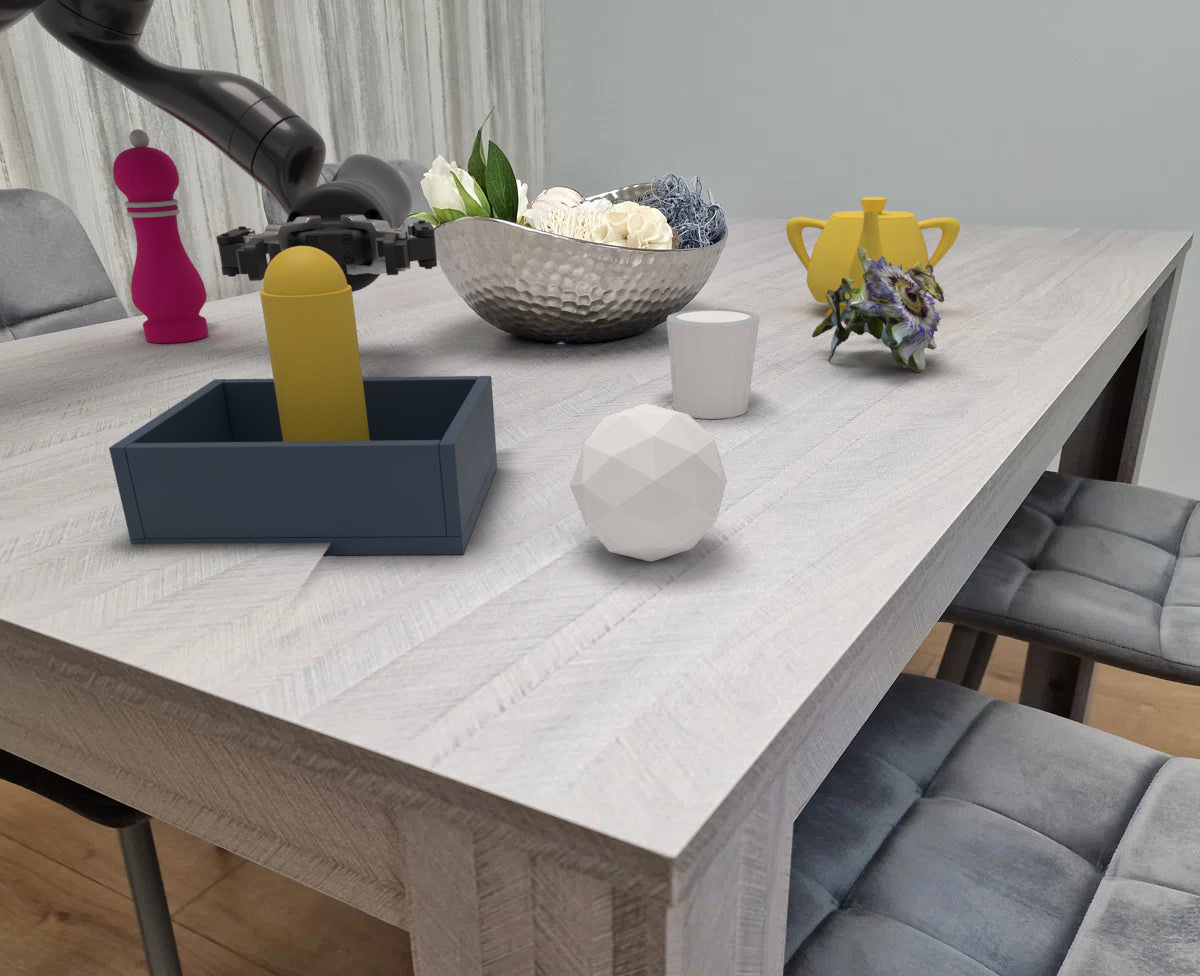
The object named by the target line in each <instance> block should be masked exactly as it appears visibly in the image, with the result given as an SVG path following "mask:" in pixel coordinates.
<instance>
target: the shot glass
mask: <svg viewBox="0 0 1200 976" xmlns="http://www.w3.org/2000/svg"><path fill="white" fill-rule="evenodd" d="M759 324H760V315H758V314H757V313H754V312H750V311H745V310H738V309H728V308H702V309H701V308H700V309H690V310H683V311H677V312H673V313H671V314H668V315H667V317H666V325H667V326H666V329H667V340H668V341H667V342H668V352H669V353H668V354H669V365H670V376H671V377H670V378H671V390H672V400H673V401H672V402H673V410H674V411H678V412H682V413H685V414H688V415H689V416H691V417H692V418H693V419H694V418H696V419H701V420H702V419H703V420H706V419H707V420H720V419H731V418H734V417H739V416H742V415H744V414H745V413H748V409H749V400H750V392H751V385H752V378H753V370H754V363H755V356H756V355H755V354H756V348H757V342H758V341H757V339H758V331H759Z"/></svg>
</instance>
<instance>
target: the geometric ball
mask: <svg viewBox="0 0 1200 976" xmlns="http://www.w3.org/2000/svg"><path fill="white" fill-rule="evenodd" d="M727 483H728V479H727V475H726V472H725V469H724V465H723V461H722V459H721V455H720V452H719V449H718V445H717V442H716V439H715V438H714V437H713V436H712V435H711V434H710V433H708V432H707V431H706V429H704V428H703V427H702V426H701V424H699V423H698V422H697V421H696V420H695V419H694V418H693V417H691V416H689V415H688V414H685V413H682V412H678V411H674V409H669V408H665V407H662V406H658V405H653V404H649V403H644V404H640V405H637V406H634V407H631V408H628V409H625V410H622V411H619V412H616V413H612V414H609V415H606V416H604V417H603V418H602V420H601V421H600V423H599V424H598V425H597V427H596V428H595V429H594V430H593V431H592V433H591V434H590V435H589V437H588V438H587V439H586V441H585V442H584V443H583V445H582V449H581V452H580V454H579V457H578V461H577V464H576V466H575V470H574V472H573V475H572V479H571V481H570V485H569V487H570V490H571V493H572V495H573V497H574V499H575V501H576V504H577V507H578V510H579V511H580V515H581V516H582V519H583V521H584V524H585V525H586V527H587V528H588V529H589V530H590V531H591V533H593V535H594V536H595V537H596V538H597V539H598V540H599V542H600V543H601V544H602V545H603V546H604V547H605V549H607V550H608V552H610V553H614V554H617V555H621V556H624V557H625V556H626V557H630V558H634V559H638V560H641V561H645V562H650V563H652V562H656V561H658V560H662V559H664V558H668V557H672V556H674V555H677V554H681V553H683V552H686V551H689V550H692V549H693V548H695V546H696V545H697V544H698V543H699V541H700V540H701V539H702V538H703V537H704V536H705V535H706V534H707V532H709V530H710V529H711V528H712V527H713V526H714V524H716V522H717V521H718V517H719V513H720V509H721V506H722V502H723V499H724V494H725V490H726V487H727Z"/></svg>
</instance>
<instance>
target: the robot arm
mask: <svg viewBox="0 0 1200 976" xmlns="http://www.w3.org/2000/svg"><path fill="white" fill-rule="evenodd" d="M154 1H155V0H0V35H1V34H3V33H5V32H6V31H8V30H9V29H11V28H12V27H14V26H15V25H17V24H18V23H20V22H21V21H22V20H24V19H25V18H27V17H28V16H29V15H30V14H31V13H32V15H33V16H34V18H35V20H36V21H37V23H38V24H39V25H40V27H41V28H43V29H44V30H45V31H46V33H48V34H49V35H50V36H51V37H52V38H53V39H54V40H56V41H57V42H58V43H60V44H61V45H62V46H63V47H65V48H66V49H68V50H69V51H70V52H72V54H75V56H78V57H79V58H81V60H83V61H84V62H87V63H88V64H89V65H91V66H93V67H94V68H96V69H97V70H98V71H100V72H102V73H103V74H105V75H106V76H108V77H109V78H111V79H113V80H114V81H116V82H117V83H118V84H120V85H122V86H123V87H125V88H126V89H128V90H129V91H130V92H132V93H134V94H136V95H137V96H139V97H140V98H142V100H145V101H147V102H148V103H150V104H152V105H153V106H155V108H157V109H160V110H161V111H163V112H164V113H166V114H168V115H169V116H171V117H172V118H174V119H176V120H177V121H179V122H181V123H182V124H183V125H185V126H186V127H188V128H189V129H191V130H192V131H194V132H195V133H197V134H198V135H199V136H201V138H203V139H205V140H206V141H207V142H209V143H210V144H211V145H212V146H214V147H215V148H216V149H217V150H218V151H220V152H221V153H222V154H224V155H225V156H226V157H227V158H228V159H229V160H230V161H232V162H233V163H234V164H235V165H236V166H237V167H239V168H240V169H241V170H242V171H243V172H244V173H246V174H247V175H248V176H249V177H250V178H252V179H253V180H254V181H255V182H256V183H258V184H259V185H260V186H261V187H262V188H263V189H264V190H265V191H266V192H267V193H268V194H270V196H271V197H272V198H273V199H274V201H275V202H276V203H277V204H278V205H279V207H280V209H282V210H283V212H284V213H285V215H286V216H287V217H286V222H279V223H270V224H267V225H266V226H265V229H264V232H262V233H256V231H255V229H252V228H251V227H247V226H243V225H242V226H238V228H233V229H231V230H228V231H225V232H223V233H221V234H219V235H217V236H215V237H216V238H215V239H216V244H217V246H218V251H219V258H220V263H221V273H222V276H228V277H229V278H230V277H232V278H233V277H236V276H237V275H247V277H248V280H249V282H260V281H263V280H264V275H265V272H266V269H267V267H268V265H269V264H270V262H271V261H272V259H273V258H274V257H275V256H276V255H278V254H279V253H280V252H282V251H284V250H286V249H288V248H291V247H295V246H310V247H314V248H317V249H319V250H322V251H324V252H325V253H327V254H328V255H330V256H331V257H332V258H333V259H334V260H335V261H336V262H337V263H338V264H339V266H340V267H341V269H342V271H343V273H344V275H345V278H346V281H347V284H348V285H350V286H351V287H352V293H353V292H358V291H361V290H363V289H365V288H367V287H368V286H370V285H371V284H373V283H374V282H375V281H376V280H378V278H379V277H380V276H381V275H382V274H386V276H398V275H399V272H406V270H410V269H411V263H412V262H416V261H417V263H418V266H419V268H424V269H425V270H433V268H436V267H438V259H437V258H438V257H437V246H436V235H435V228H434V226H433V225H432V223H431V222H430V221H426V220H423V219H422V220H421V219H420V220H418V221H417V222H413V223H412V224H411V223H410V224H407V230H406V229H402V228H401V226H402V225H403V223H404V222H405V220H407V218H408V216H409V215H410V213H411V211H412V209H413V198H412V197H413V196H412V193H411V190H410V188H409V186H408V184H407V182H406V181H405V179H404V178H403V177H402V175H401V174H400V173H399V172H398V171H397V169H395V168H394V167H393V166H392V165H390V164H389V163H387V162H386V161H384V160H383V159H381V158H378V157H376V156H373V155H369V154H365V153H356V154H352V155H350V156H348V157H346V158H345V159H344V160H343V162H342V163H341V165H340V166H339V168H338V169H337V171H336V173H335V174H334V175H333V177H332V179H330V181H327V182H324V183H322V184H320V185H318V183H319V180H320V176H321V174H322V170H323V168H324V165H325V162H326V161H325V160H326V157H327V156H326V155H327V147H326V143H325V140H324V138H323V137H322V135H321V134H320V133H319V132H318V131H317V130H316V129H315V128H314V127H313V126H312V125H311V124H309V123H308V122H307V121H305V119H303V118H302V117H301V116H300V115H299V114H297V113H296V112H295V111H294V110H293V109H292V108H291V107H289V106H288V105H287V104H286V103H284V102H283V101H282V100H281V99H280V98H279V97H277V96H276V95H275V94H274V93H273V92H271V91H270V90H269V89H267V88H266V87H264V86H263V85H262V84H260V83H258V82H257V81H255V80H253V79H251V78H248V77H246V76H244V75H240V74H237V73H233V72H229V71H222V70H215V69H213V70H212V69H199V68H189V67H187V68H186V67H179V66H173V65H171V64H170V65H169V64H166V63H163V62H161V61H158V60H156V59H155V58H153V57H152V56H150V55H149V54H148V53H146V51H144V50H143V49H142V47H140V45H139V43H140V41H141V38H142V37H143V36H142V35H143V33H144V31H145V27H146V24H147V21H148V18H149V15H150V13H151V10H152V8H153V5H154ZM267 255H268V257H269V261H268V257H267Z"/></svg>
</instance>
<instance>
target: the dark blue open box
mask: <svg viewBox="0 0 1200 976" xmlns="http://www.w3.org/2000/svg"><path fill="white" fill-rule="evenodd" d="M362 379H363V387H364V396H365V404H366V413H367V421H368V429H369V438H370V441H299V442H283V436H282V430H281V423H280V417H279V411H278V404H277V398H276V391H275V385H274V379H273V378H227V379H226V378H215V379H213V380H212V381H210V382H208V383H206V384H205V385H204V386H202V387H200V388H198V389H197V390H196V391H194V392H193V393H191V394H190V395H187V397H185V398H183V399H182V400H180V401H178V402H177V403H176V404H175V405H174V404H173V406H171V407H170V408H168V409H167V410H165V411H163V412H162V413H160V414H159V415H158V416H156V417H154V418H153V419H151V420H150V421H148V422H146V423H145V424H144V425H141V426H140V427H139V428H137V429H135V430H134V431H133V432H131V433H129V434H128V435H127V436H125V437H123V438H122V439H119V440H118V441H117V442H116V443H114V444H113V445H111V446H110V447H108V450H109V453H110V458H111V462H112V466H113V467H112V468H113V472H114V476H115V480H116V484H117V488H118V492H119V497H120V501H121V506H122V510H123V514H124V519H125V523H126V528H127V532H128V536H129V539H130V545H186V544H187V545H189V544H190V545H196V544H197V545H198V544H199V545H200V544H201V545H203V544H204V545H205V544H206V545H207V544H210V545H212V544H218V545H219V544H329V545H328V547H327V549H326V550H325V551H324V552H323V554H322V556H400V555H402V556H405V555H406V556H408V555H409V556H410V555H411V556H413V555H414V556H415V555H416V556H417V555H419V556H420V555H421V556H423V555H427V556H428V555H429V556H430V555H464V553H465V550H466V548H467V547H468V543H469V541H470V538H471V536H472V532H473V530H474V528H475V526H476V522H477V520H478V518H479V515H480V512H481V510H482V508H483V505H484V502H485V500H486V497H487V494H488V491H489V489H490V486H491V484H492V481H493V479H494V476H495V474H496V472H497V469H498V458H497V457H498V456H497V442H496V427H495V413H494V398H493V397H494V396H493V380H492V376H491V375H450V376H449V375H448V376H447V375H445V376H443V375H442V376H441V375H440V376H435V375H434V376H382V377H381V376H377V377H376V376H375V377H374V376H367V377H364V376H362Z"/></svg>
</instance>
